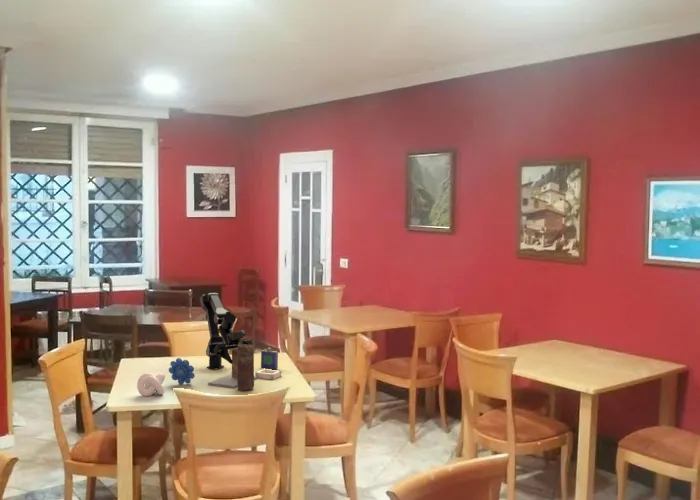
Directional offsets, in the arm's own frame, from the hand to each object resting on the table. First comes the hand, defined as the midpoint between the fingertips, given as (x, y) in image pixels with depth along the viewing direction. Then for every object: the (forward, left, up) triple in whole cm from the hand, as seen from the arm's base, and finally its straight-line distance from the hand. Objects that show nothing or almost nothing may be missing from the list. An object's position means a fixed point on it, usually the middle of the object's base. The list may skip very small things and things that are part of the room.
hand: (240, 361), depth 324 cm
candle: (+13, +11, -9) cm, 19 cm away
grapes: (+19, -19, -9) cm, 28 cm away
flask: (-26, +1, -9) cm, 28 cm away
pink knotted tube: (+37, -20, -9) cm, 43 cm away
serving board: (+4, -1, -9) cm, 9 cm away
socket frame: (-11, +9, -9) cm, 17 cm away
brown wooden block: (0, -1, -8) cm, 8 cm away
